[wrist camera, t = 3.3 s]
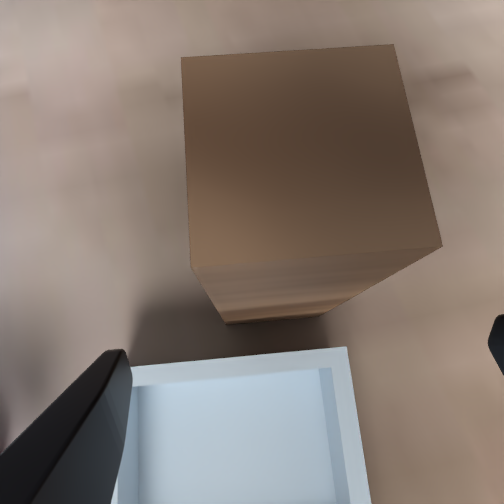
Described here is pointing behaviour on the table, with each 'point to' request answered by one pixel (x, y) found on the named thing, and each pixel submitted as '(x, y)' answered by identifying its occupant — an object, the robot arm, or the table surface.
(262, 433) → the bin
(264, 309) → the walnut block
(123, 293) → the table surface
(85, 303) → the table surface
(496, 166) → the table surface
